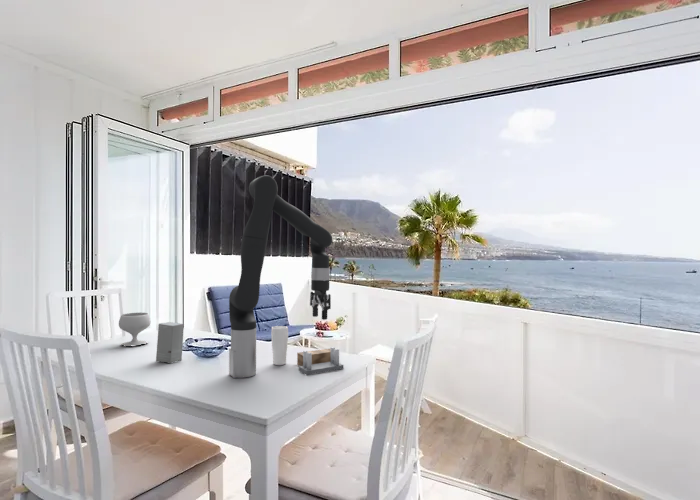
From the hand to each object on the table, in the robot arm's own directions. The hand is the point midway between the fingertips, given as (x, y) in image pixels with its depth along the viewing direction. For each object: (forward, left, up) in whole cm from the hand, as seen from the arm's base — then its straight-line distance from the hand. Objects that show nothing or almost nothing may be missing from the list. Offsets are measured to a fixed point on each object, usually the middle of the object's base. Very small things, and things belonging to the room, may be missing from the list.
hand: (319, 318), depth 169 cm
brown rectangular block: (-1, 0, -19) cm, 19 cm away
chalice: (-64, +77, -19) cm, 102 cm away
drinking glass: (-15, +7, -19) cm, 25 cm away
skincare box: (-53, +35, -19) cm, 66 cm away
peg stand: (-4, -9, -19) cm, 21 cm away
